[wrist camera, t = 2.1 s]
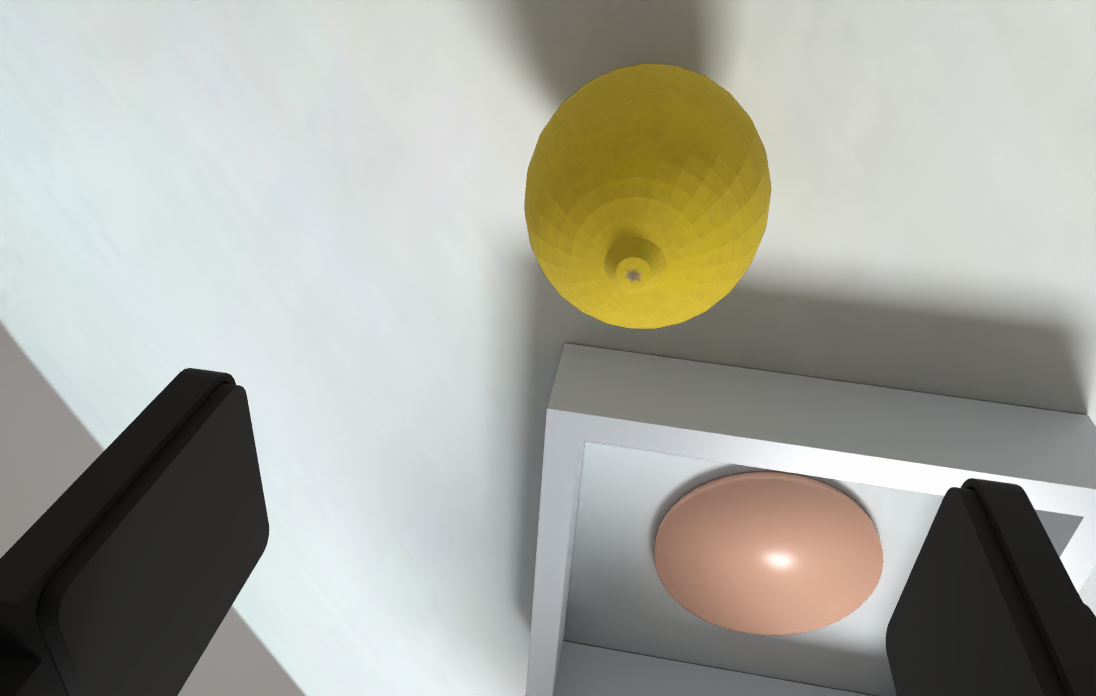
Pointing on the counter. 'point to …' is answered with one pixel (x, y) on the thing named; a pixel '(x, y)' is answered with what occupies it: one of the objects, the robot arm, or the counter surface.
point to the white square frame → (775, 500)
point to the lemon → (647, 196)
